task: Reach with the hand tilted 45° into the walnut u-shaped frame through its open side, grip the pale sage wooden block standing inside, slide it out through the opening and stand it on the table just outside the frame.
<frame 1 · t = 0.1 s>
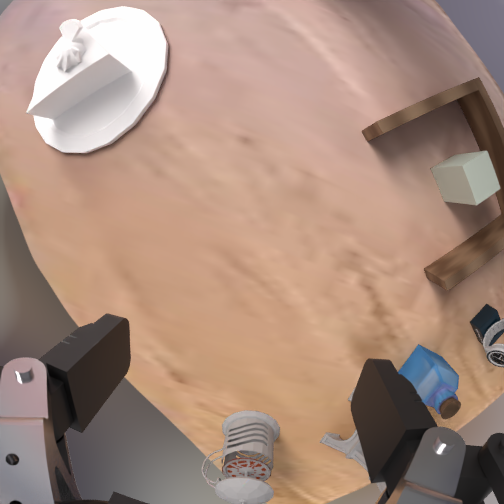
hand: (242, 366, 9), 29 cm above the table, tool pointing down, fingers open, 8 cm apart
watch: (482, 323, 39), on the table
perfume bottle: (418, 365, 41), on the table
eiffel tower: (369, 420, 43), on the table
walnut u-shaped frame: (449, 177, 34), on the table
dish: (94, 76, 35), on the table
sage block: (464, 177, 31), in the walnut u-shaped frame
french press: (245, 430, 45), on the table
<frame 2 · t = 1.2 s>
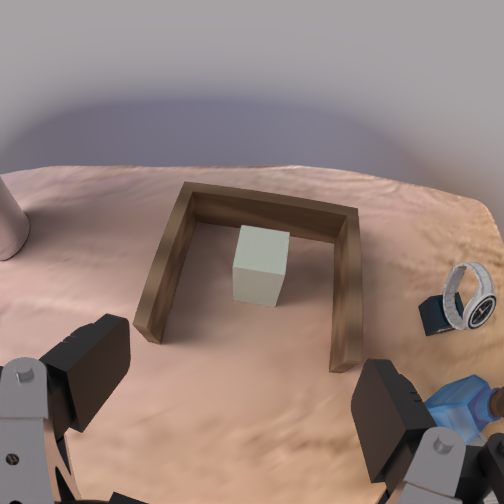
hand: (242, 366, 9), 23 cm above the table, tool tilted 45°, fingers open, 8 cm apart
watch: (436, 319, 35), on the table
perfume bottle: (437, 417, 28), on the table
walnut u-shaped frame: (257, 284, 37), on the table
sage block: (259, 268, 33), in the walnut u-shaped frame
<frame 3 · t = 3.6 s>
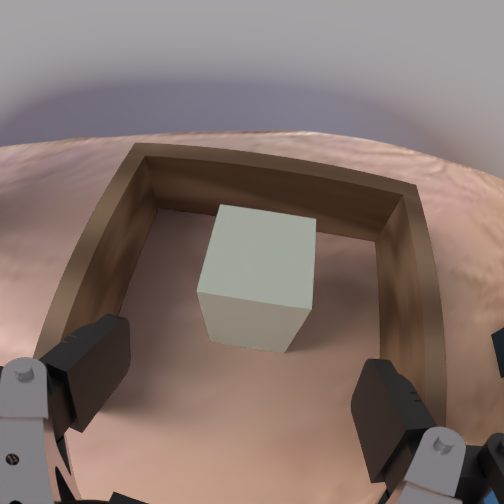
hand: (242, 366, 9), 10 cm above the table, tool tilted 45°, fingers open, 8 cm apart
walnut u-shaped frame: (252, 313, 21), on the table
sage block: (256, 289, 18), in the walnut u-shaped frame
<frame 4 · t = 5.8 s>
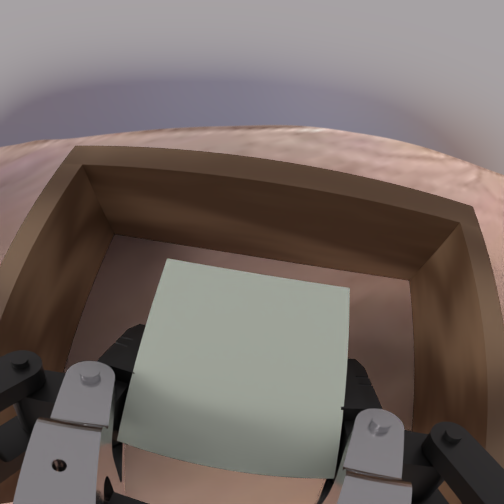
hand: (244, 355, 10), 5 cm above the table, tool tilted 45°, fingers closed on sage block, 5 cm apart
walnut u-shaped frame: (238, 397, 13), on the table
sage block: (239, 387, 10), in the walnut u-shaped frame, touching gripper
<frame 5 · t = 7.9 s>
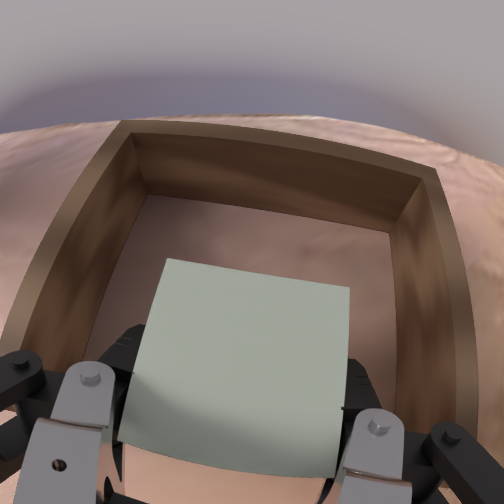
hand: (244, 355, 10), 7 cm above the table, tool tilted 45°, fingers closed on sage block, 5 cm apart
walnut u-shaped frame: (250, 313, 18), on the table
sage block: (239, 387, 10), point 6 cm above the table, touching gripper
when the fingers open (6 cm above the table, at t = 10.4 s): sage block stays where it is, on the table.
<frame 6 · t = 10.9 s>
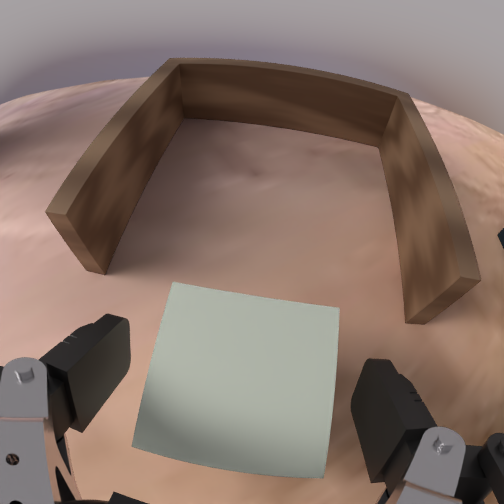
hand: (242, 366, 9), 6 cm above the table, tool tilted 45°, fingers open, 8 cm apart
walnut u-shaped frame: (273, 185, 22), on the table
sage block: (240, 395, 11), on the table
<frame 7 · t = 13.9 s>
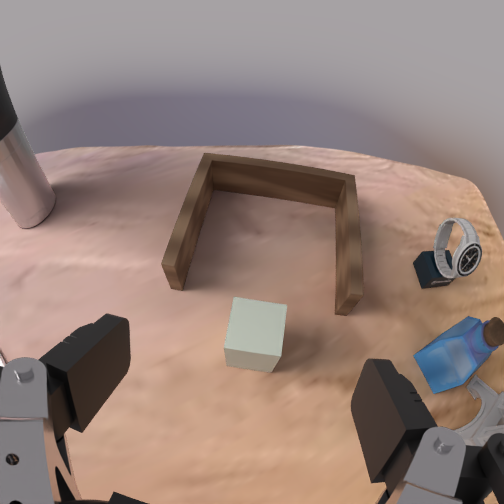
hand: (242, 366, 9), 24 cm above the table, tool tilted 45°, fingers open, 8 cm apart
watch: (430, 275, 40), on the table
perfume bottle: (437, 363, 32), on the table
eiffel tower: (470, 438, 26), on the table
walnut u-shaped frame: (268, 240, 42), on the table
sage block: (254, 338, 30), on the table
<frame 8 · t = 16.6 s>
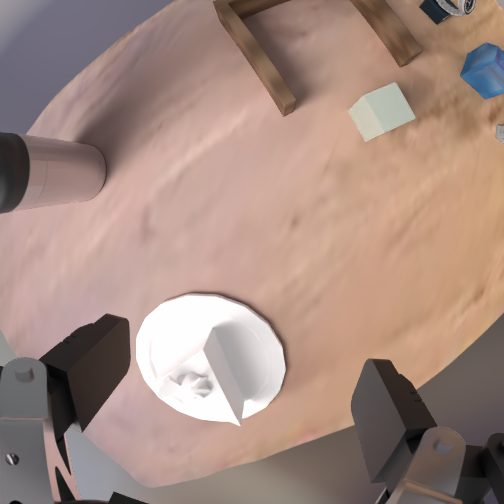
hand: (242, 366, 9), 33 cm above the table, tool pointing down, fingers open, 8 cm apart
watch: (435, 11, 31), on the table
perfume bottle: (476, 76, 33), on the table
walnut u-shaped frame: (315, 35, 35), on the table
dish: (208, 362, 47), on the table
sage block: (379, 113, 33), on the table
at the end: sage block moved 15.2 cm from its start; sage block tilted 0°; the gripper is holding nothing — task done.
